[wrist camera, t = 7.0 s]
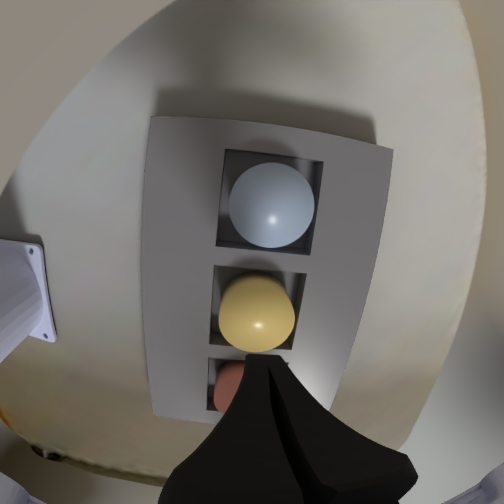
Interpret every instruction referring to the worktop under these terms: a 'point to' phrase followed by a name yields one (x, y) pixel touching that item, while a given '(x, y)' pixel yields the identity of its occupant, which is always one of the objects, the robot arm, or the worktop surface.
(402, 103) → the worktop surface
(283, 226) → the slate button
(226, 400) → the brick button
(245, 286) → the ochre button
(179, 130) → the panel
